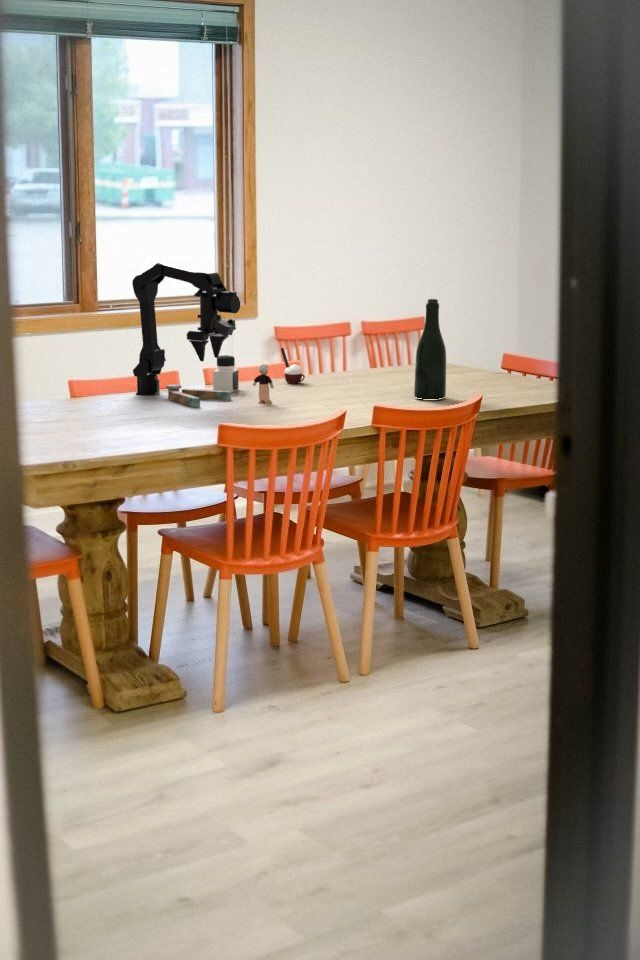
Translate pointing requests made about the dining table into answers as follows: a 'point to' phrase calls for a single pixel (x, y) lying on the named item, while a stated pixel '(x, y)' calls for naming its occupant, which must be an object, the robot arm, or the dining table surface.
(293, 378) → the cocoa
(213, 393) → the base
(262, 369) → the grandmother figurine
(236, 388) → the medicine bottle
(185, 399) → the tong leg
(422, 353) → the dark wine bottle
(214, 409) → the dining table surface
